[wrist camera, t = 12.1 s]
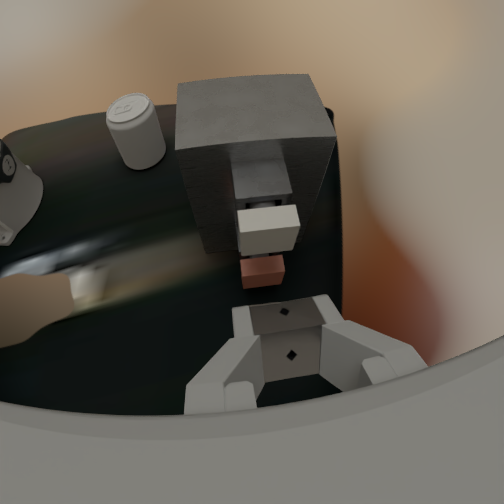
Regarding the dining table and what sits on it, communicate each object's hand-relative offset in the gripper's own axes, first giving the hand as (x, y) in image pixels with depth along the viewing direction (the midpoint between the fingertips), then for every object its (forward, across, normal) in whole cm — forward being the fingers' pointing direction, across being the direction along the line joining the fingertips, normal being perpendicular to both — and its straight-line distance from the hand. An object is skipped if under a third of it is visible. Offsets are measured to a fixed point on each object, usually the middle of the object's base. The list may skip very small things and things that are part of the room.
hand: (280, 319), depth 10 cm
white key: (+20, +2, -3) cm, 21 cm away
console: (+36, +2, -8) cm, 37 cm away
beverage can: (+49, -15, +4) cm, 51 cm away
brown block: (+28, +2, -11) cm, 30 cm away
